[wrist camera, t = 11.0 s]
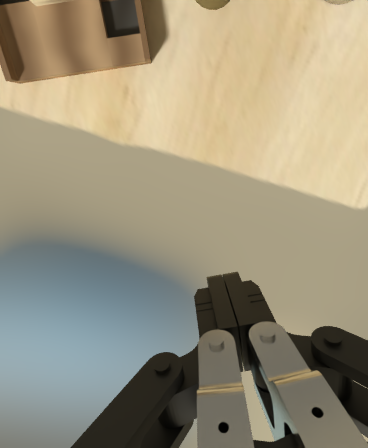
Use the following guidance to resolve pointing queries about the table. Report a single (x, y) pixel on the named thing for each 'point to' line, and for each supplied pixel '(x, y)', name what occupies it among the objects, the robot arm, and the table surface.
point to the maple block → (47, 2)
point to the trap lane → (70, 38)
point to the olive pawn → (212, 4)
